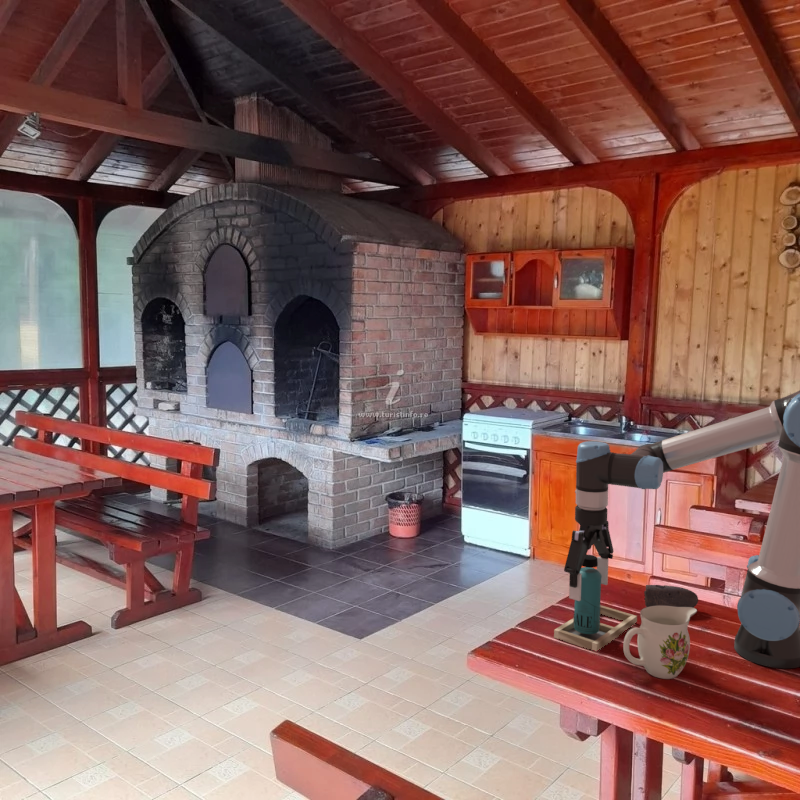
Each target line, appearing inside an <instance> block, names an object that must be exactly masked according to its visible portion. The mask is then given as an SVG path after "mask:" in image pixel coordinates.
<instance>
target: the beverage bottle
mask: <svg viewBox="0 0 800 800" xmlns="http://www.w3.org/2000/svg"><path fill="white" fill-rule="evenodd" d="M597 557H598V556H595V555H593V554H586V557H585V559H584V562H583V565H582V567H581V570H580V573H581V574H582V575H581V600H580V601H577V600H574V603H573V604H574V605H573V618H572V619H573V622H574V623H573V624H574V625H573V626H574V629H575V630H576V631H578V632H580V633H584V634H595V633H597V632H599V629H600V623H601V616H602V615H601V613H600V605H601V595H602V594H601V593H602V591H601V590H602V584H601V578H602V575H601V573H600V572H599V571H598V570H597V566H598V562H597Z"/></svg>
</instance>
